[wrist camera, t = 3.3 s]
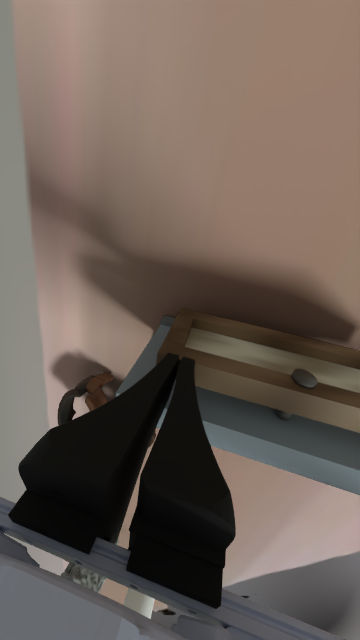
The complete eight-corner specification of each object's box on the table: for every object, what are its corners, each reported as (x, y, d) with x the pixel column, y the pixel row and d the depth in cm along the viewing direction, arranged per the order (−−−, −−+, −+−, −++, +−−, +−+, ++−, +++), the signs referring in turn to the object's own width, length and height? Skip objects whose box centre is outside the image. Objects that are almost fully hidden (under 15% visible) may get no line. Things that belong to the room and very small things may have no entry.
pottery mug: (105, 421, 33) (50, 449, 26) (109, 360, 32) (54, 372, 25) (171, 451, 27) (124, 499, 20) (176, 378, 27) (130, 399, 19)
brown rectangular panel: (404, 357, 15) (493, 439, 10) (376, 389, 16) (439, 474, 11) (181, 304, 17) (157, 349, 12) (176, 337, 18) (152, 389, 13)
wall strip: (389, 373, 18) (512, 512, 10) (356, 411, 21) (432, 546, 12) (164, 315, 21) (115, 386, 13) (159, 354, 23) (115, 435, 15)
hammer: (72, 519, 68) (83, 512, 49) (104, 525, 70) (126, 521, 51) (46, 594, 57) (46, 623, 38) (84, 598, 59) (102, 628, 40)
